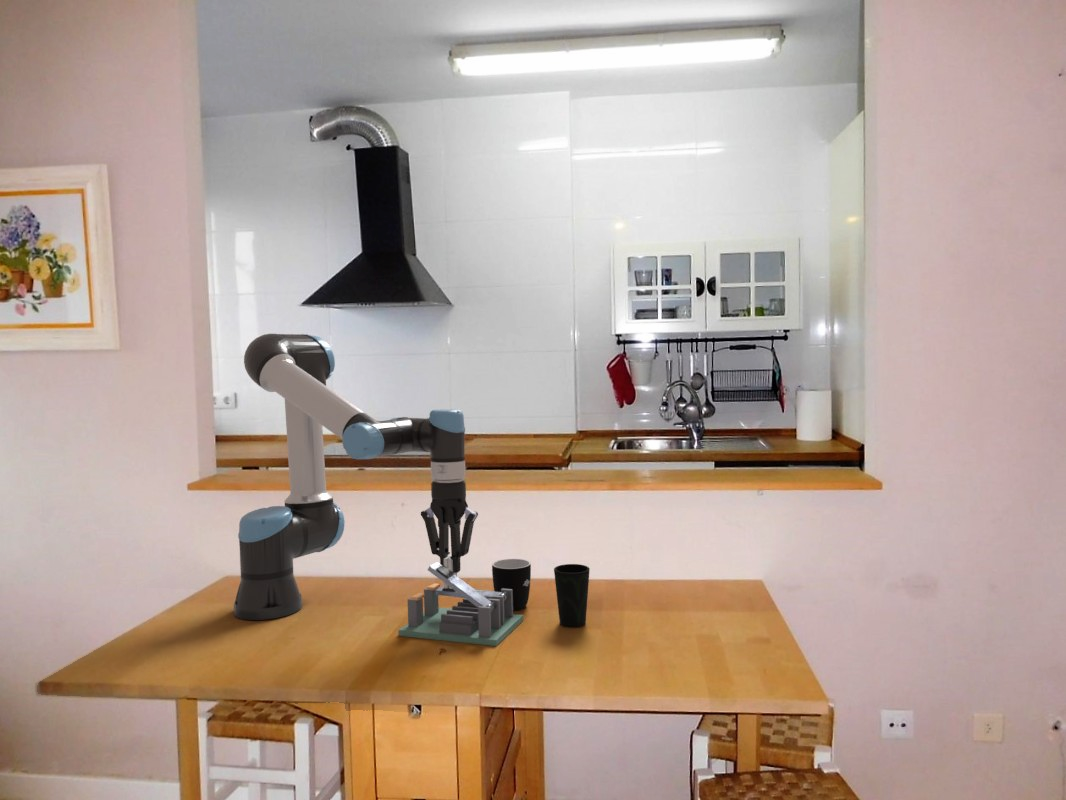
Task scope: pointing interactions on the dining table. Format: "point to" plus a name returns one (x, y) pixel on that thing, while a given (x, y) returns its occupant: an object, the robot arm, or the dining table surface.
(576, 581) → the cup
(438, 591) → the strap far
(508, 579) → the mug
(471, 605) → the socket board
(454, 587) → the strap near
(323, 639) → the dining table surface
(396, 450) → the robot arm
